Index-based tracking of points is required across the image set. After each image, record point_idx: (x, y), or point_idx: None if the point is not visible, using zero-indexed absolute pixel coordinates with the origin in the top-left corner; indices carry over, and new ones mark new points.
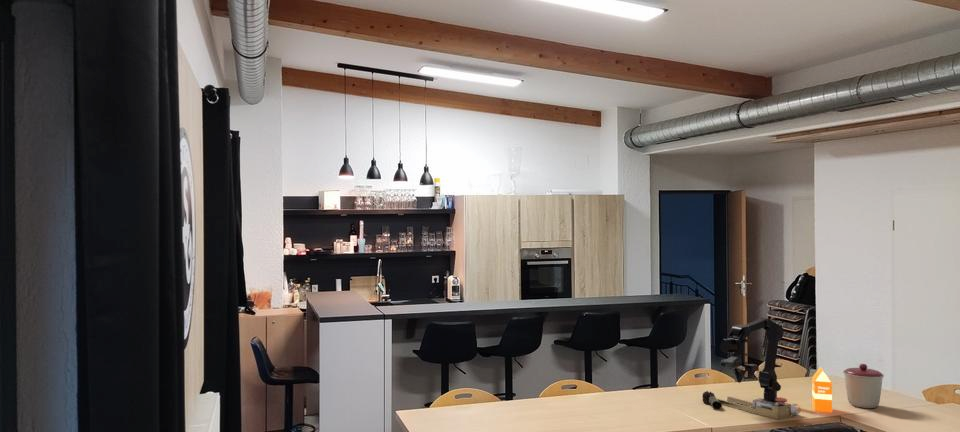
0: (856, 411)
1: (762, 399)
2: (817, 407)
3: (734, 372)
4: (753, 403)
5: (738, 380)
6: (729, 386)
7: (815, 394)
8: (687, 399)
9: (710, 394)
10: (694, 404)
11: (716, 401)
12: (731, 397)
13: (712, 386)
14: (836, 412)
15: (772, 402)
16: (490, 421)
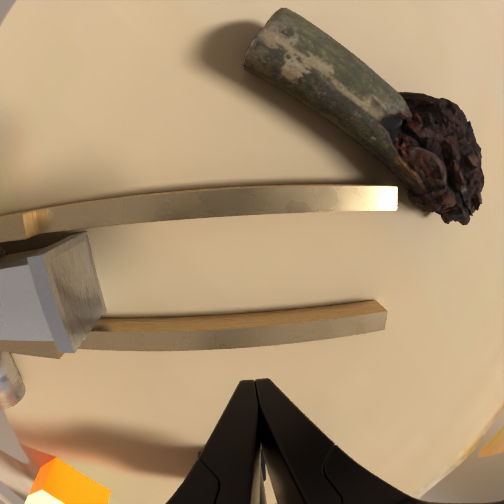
0: None
1: (261, 454)
2: (49, 468)
3: (387, 491)
4: (53, 247)
5: (255, 398)
6: (455, 440)
7: (36, 501)
8: (490, 114)
9: (433, 138)
10: (413, 42)
11: (271, 20)
12: (362, 324)
13: (496, 391)
14: None
15: (198, 455)
16: None
